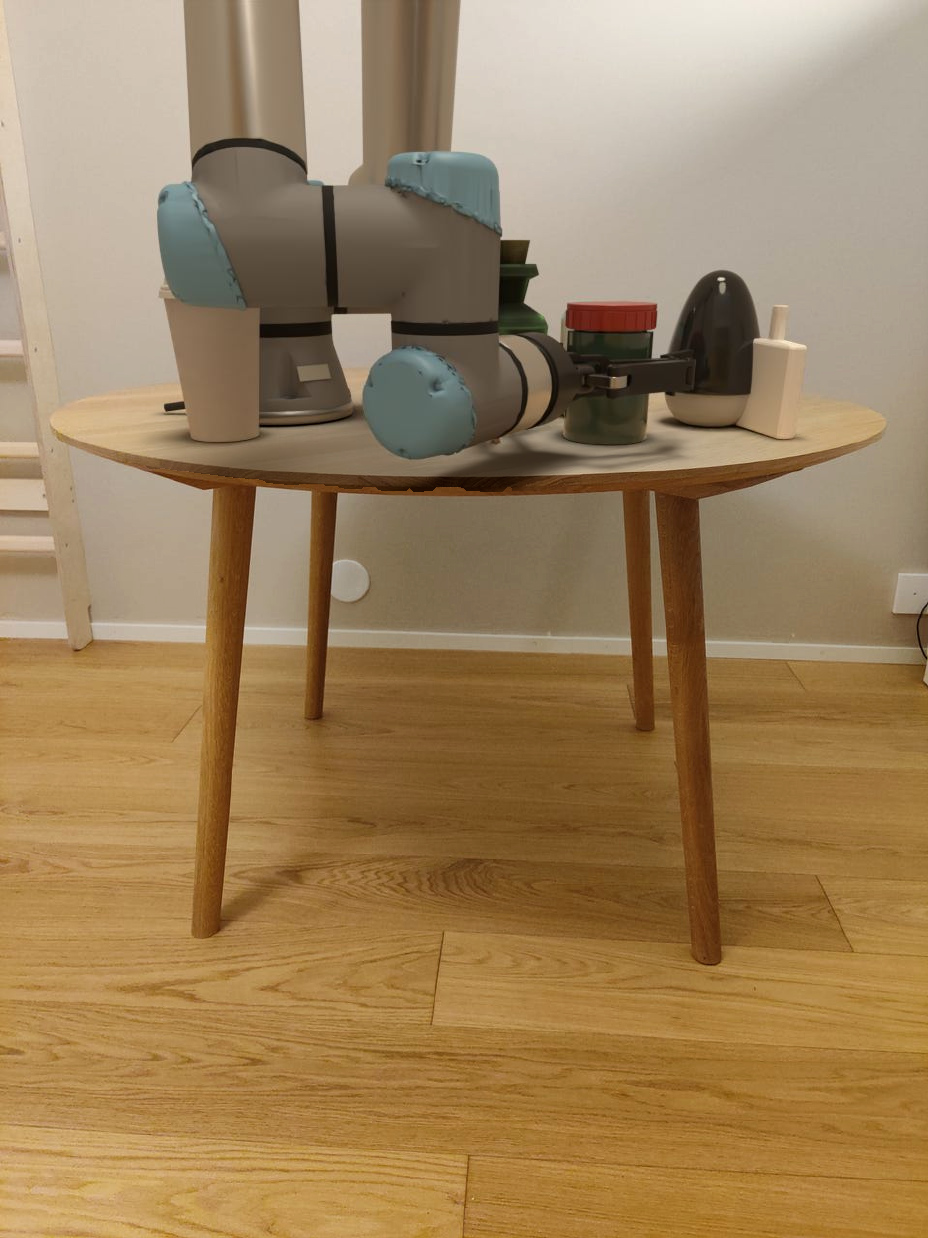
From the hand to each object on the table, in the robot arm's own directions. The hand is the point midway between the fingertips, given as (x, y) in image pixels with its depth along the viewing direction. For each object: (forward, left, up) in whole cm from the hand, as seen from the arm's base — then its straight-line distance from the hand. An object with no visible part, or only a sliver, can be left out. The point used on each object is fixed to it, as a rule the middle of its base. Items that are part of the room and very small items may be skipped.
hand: (621, 360), depth 90 cm
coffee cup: (-33, -20, -7) cm, 40 cm away
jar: (0, -3, -7) cm, 8 cm away
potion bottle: (-14, +5, -7) cm, 17 cm away
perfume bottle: (+13, +7, -7) cm, 16 cm away
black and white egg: (+7, +10, -7) cm, 14 cm away
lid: (0, -3, +5) cm, 6 cm away
